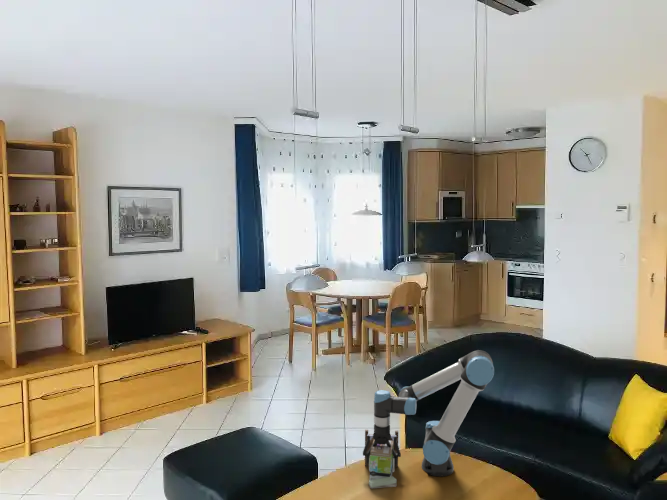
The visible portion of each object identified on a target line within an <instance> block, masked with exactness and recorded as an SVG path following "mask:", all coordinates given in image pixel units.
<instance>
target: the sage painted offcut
mask: <svg viewBox="0 0 667 500" xmlns="http://www.w3.org/2000/svg"><path fill="white" fill-rule="evenodd" d="M394 483H397V478H396V477H394V476H393V475H392V477H386V478H380V479H375V480H368V485H369V484H370V486H371V487H377V486H382V485H388V484H394ZM370 486H369V487H370Z"/></svg>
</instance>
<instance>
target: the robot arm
mask: <svg viewBox="0 0 667 500" xmlns="http://www.w3.org/2000/svg"><path fill="white" fill-rule="evenodd" d="M494 375H495V367H494V361H493V358H492V356H491V355H490V354H489V353H488V352H486V351H484V350H481V349H480V350H479V349H477V350H474V351H471V352H469V353H468V354H466V355H464V356H462V357H460V358H459V359H458V361H457V362H455V363H453V364H451V365H449V366H447V367H445V368H444V369H441V370H439V371H437V372H436V373H433V374H432V375H430V376H427V377H425V378H423V379H421V380H420V381H419V380H418V381H417V382H416V383H415V382H414V384H411V385H410V386H403V387H402V388H401V389H400V391H399V394H398V396H393V395H391V392H390V391H389V390H385V389H380V390H379V389H378V390H376V391H375V392H374V398H373V399H374V400H373V424H374V425H373V433H372V434H373V435H370V434H371V433H368V434H367V441H366V444H365V443H364V448H363V451H362V456H364V457H365V456H366V457H367V463H369V466H368V471H369V472H370V451H371V448H372V447H376V446H377V444H384V445H385V444H386V445H387V446H388V447H391V444H390V442H389V440H390V439H391V438H392V440H393V441H394V444H395V447H396V450H397V454H396V452H395V451H394V449H393V448H392V454H393V472H392V473H394V472H395V467H394V464H397V457H398V458H401V457H402V455H401V450H400V447H399V442H398V443H397V436H396V435H395V434H391V414H399V415H407V416H411V415H413V416H414V415H416V413H417V402H418V401H420V400H422V399H423V398H425V397H427V396H429V395H432V394H434V393H435V392H437V391H439V390H442V389H444V388H446V387H447V386H450V385H452V384H454V383H456V382H458V381H460V380H461V381H460V383H459V385H458V386H457V389H456V391H455V392H454V394H453V396H452V398H451V400H450V401H449V404H448V405H447V407H446V409H445V411H444V412H443V415H442V417H441V418H440V420H429V421H428V422H426V423H425V437H424V441H423V445H422V454H423V459H422V462H421V470H423V471H424V472H425V473H427V475H430V476H433V477H448V476H451V475H452V474H453V473H454V471H455V469H454V464H453V460H452V456H451V451H452V448H453V447H454V444H455V443H456V441H457V440H456V434H457V432H458V430H459V429H460V426H461V425H462V423H463V421H464V419H465V418H466V416H467V413H468V412H469V410H470V409H471V407H472V404H473V403H474V401H475V399H476V398H477V396H478V395H479V392H482V391H484V390H485V389H486V387H487V385H488V384H489V383H490V382H491V381H492V380H493V378H494ZM393 435H394V436H393ZM372 438H374V440H375V441H374V443H373V444H372V446H371V447H370V449H369V451H368V452H366V451H367V448H368V445H369V442H370V440H371V439H372Z"/></svg>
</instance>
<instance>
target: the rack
mask: <svg viewBox="0 0 667 500" xmlns="http://www.w3.org/2000/svg"><path fill="white" fill-rule="evenodd" d="M367 434H370V435H373V434H374V433H369V429H364V445H365V444H366V441H367ZM392 435H393V436H394V435H396V436H397V443H398V444H399V430H394V434H392ZM373 441H374V438H372V439H371V440H370V442H369V445H368V448H367V451H366V452H368V451H369V449H370V447H371V446H372V444H373ZM389 441H393V440H392V438H391V439H390V440H389ZM394 451H395V452H396V454H397V450H396V447H395V444H394ZM364 466H365V467H369V463H367V457H366V456H364ZM398 467H399V457H397V464H394V468H398Z"/></svg>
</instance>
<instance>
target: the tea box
mask: <svg viewBox="0 0 667 500" xmlns="http://www.w3.org/2000/svg"><path fill="white" fill-rule="evenodd" d="M374 441H375V440H374ZM374 441H373V443H374ZM389 442H390V444H391V447H388V446H387V445H386V444H385V445H384V444H377V446H376V447H372V448H371V451H370V471H369V480H375V479H380V478H386V477H392V476H393V473H394V472H393V454H392V448H393V449H394V441H389ZM369 480H368V481H369Z"/></svg>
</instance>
